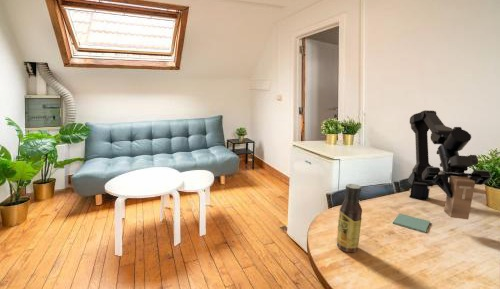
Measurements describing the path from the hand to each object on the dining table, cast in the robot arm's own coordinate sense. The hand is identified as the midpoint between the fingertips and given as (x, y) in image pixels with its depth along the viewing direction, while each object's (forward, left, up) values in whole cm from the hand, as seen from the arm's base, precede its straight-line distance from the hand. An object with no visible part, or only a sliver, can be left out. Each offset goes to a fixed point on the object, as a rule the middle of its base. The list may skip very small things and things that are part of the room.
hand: (460, 198), depth 87 cm
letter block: (-1, +1, -7) cm, 7 cm away
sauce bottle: (-24, -34, -13) cm, 43 cm away
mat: (-13, -2, -12) cm, 18 cm away
